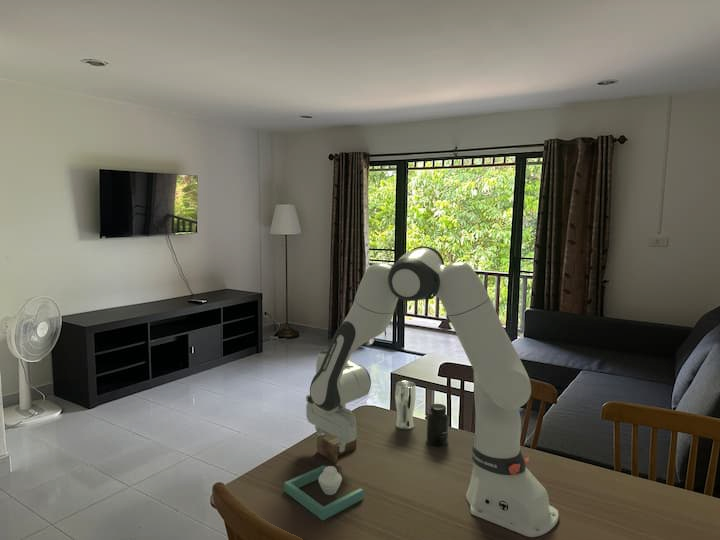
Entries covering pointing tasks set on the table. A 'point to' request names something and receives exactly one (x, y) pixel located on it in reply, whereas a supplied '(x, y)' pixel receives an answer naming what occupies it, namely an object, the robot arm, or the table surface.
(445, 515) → the table surface
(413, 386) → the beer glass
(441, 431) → the supplement bottle
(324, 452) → the wooden post on base
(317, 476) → the frame
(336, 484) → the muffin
